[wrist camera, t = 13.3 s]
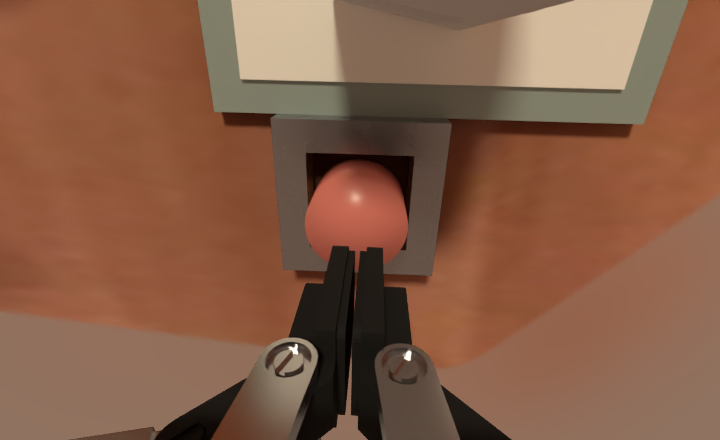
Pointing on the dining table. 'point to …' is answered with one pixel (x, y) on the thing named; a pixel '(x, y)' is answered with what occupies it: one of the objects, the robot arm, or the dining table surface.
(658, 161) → the dining table surface
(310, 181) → the button housing
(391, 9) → the small box
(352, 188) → the red rounded knob
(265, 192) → the dining table surface
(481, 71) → the board
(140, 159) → the dining table surface
